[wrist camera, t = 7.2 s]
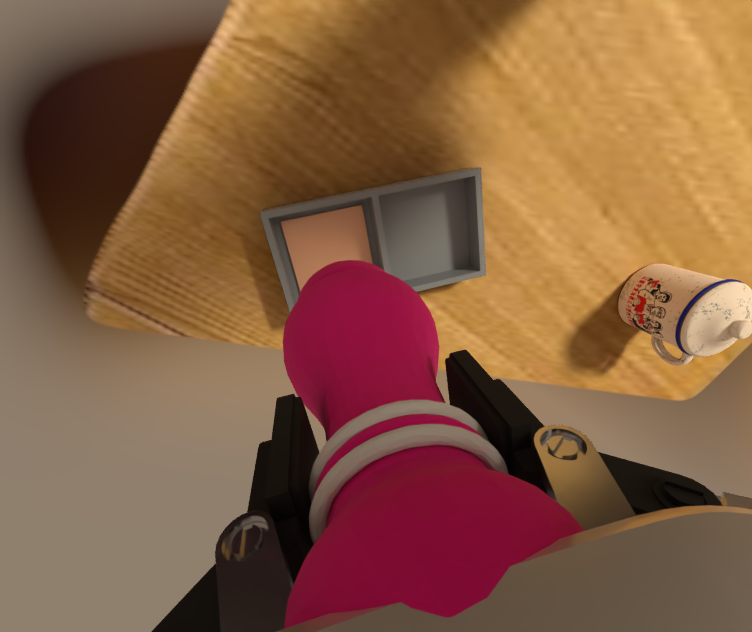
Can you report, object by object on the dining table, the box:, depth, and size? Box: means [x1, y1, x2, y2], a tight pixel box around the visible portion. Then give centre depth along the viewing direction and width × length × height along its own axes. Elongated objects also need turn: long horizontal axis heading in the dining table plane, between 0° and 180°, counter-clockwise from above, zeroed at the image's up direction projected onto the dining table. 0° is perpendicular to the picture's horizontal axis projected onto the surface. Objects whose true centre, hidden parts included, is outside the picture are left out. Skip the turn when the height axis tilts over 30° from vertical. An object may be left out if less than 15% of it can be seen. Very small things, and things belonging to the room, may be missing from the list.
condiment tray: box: [260, 168, 486, 312], centre depth 35 cm, size 11×21×3 cm, turn 100°
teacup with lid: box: [618, 264, 752, 365], centre depth 41 cm, size 12×9×12 cm
